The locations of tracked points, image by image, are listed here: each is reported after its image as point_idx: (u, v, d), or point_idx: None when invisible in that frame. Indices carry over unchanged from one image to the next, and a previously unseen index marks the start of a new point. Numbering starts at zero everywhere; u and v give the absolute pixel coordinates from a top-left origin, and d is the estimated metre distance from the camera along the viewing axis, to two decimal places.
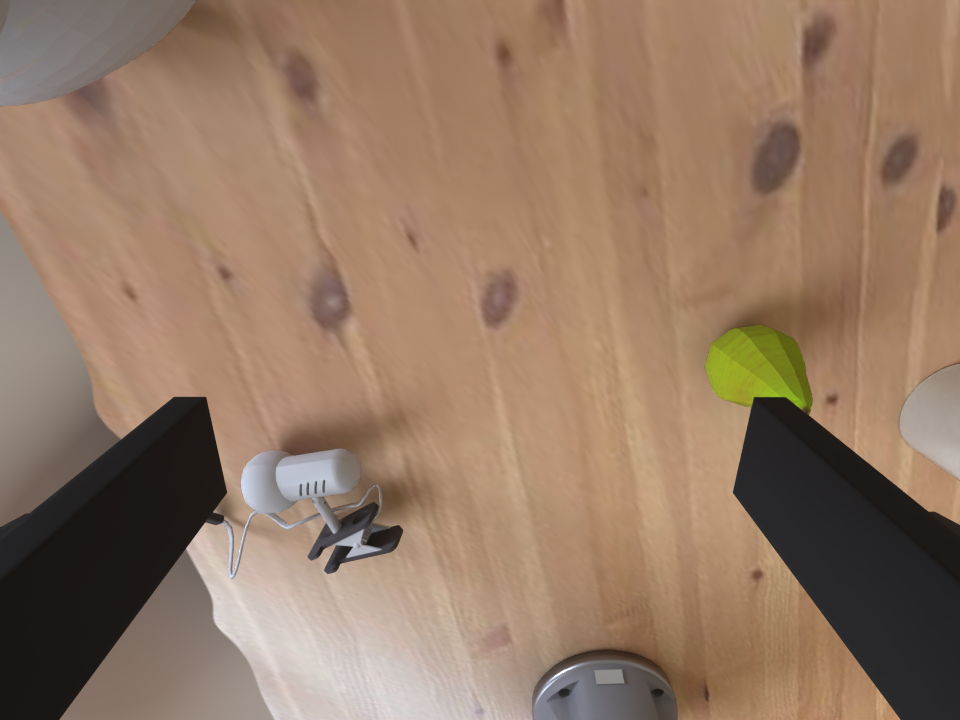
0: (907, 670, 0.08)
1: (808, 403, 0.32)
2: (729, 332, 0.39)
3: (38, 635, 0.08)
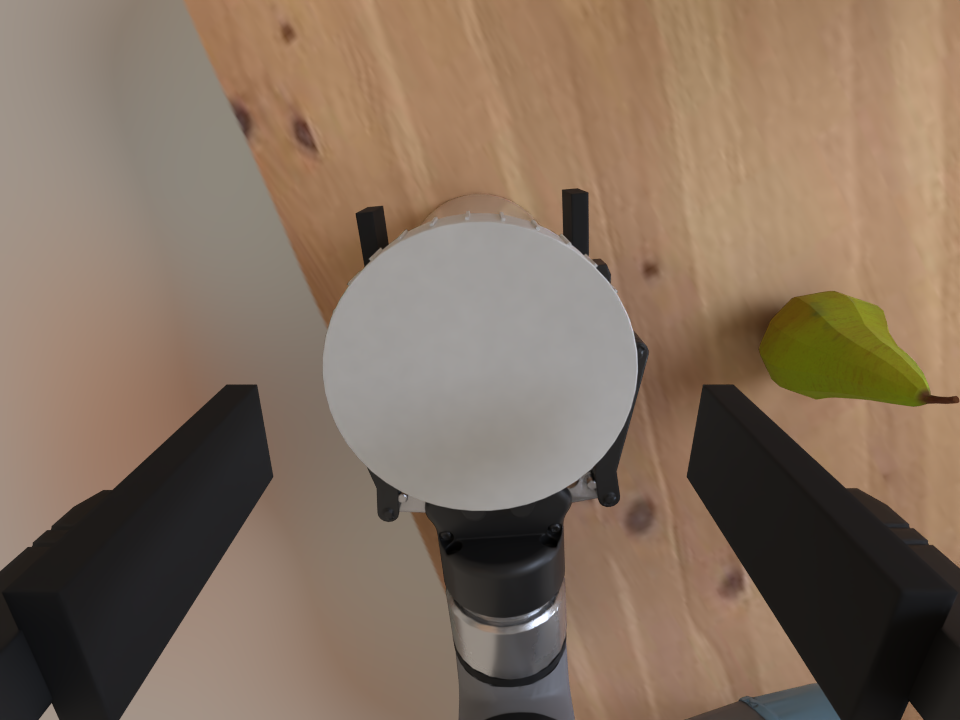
0: (818, 631, 0.08)
1: (906, 401, 0.24)
2: None
3: (131, 597, 0.08)
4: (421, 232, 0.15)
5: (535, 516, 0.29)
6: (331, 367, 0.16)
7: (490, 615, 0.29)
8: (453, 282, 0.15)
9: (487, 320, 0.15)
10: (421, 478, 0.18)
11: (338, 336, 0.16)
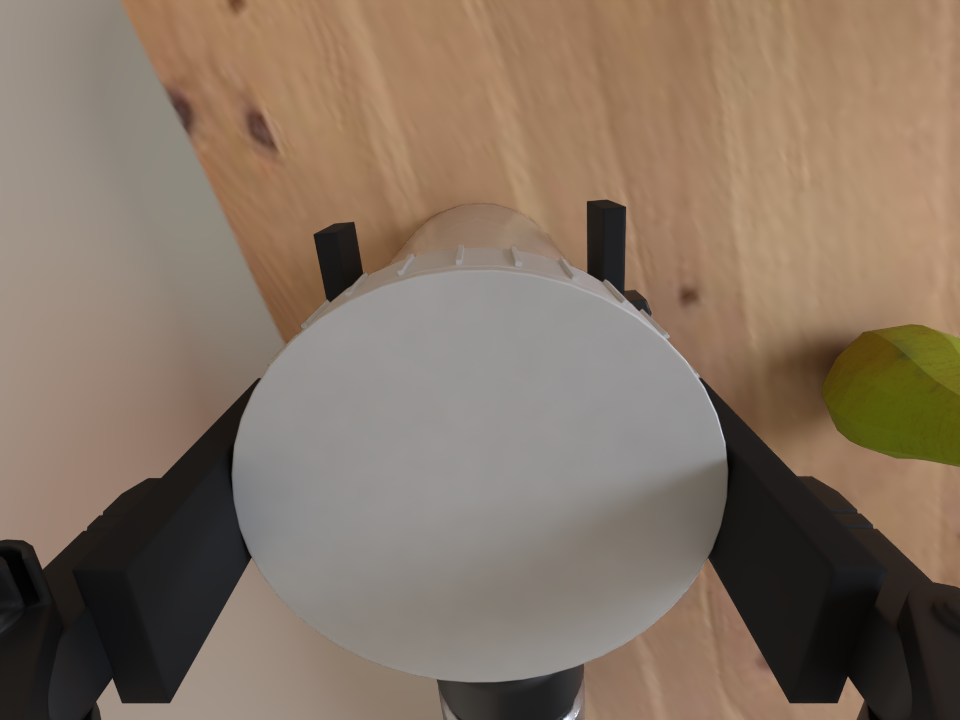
0: (767, 611, 0.09)
1: None
2: None
3: (184, 578, 0.09)
4: (382, 287, 0.09)
5: None
6: (246, 491, 0.10)
7: None
8: (435, 366, 0.09)
9: (492, 423, 0.10)
10: (392, 641, 0.12)
11: (254, 446, 0.10)
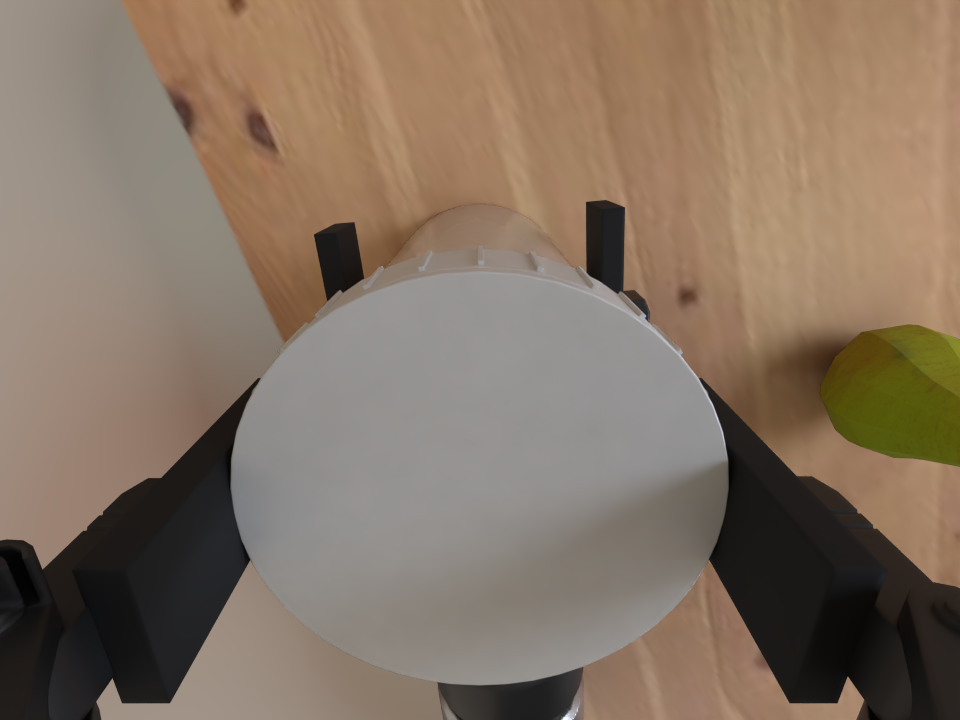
0: (767, 611, 0.09)
1: None
2: None
3: (184, 578, 0.09)
4: (326, 639, 0.12)
5: None
6: (544, 669, 0.12)
7: None
8: (361, 595, 0.11)
9: (384, 541, 0.11)
10: (681, 525, 0.10)
11: (499, 673, 0.12)
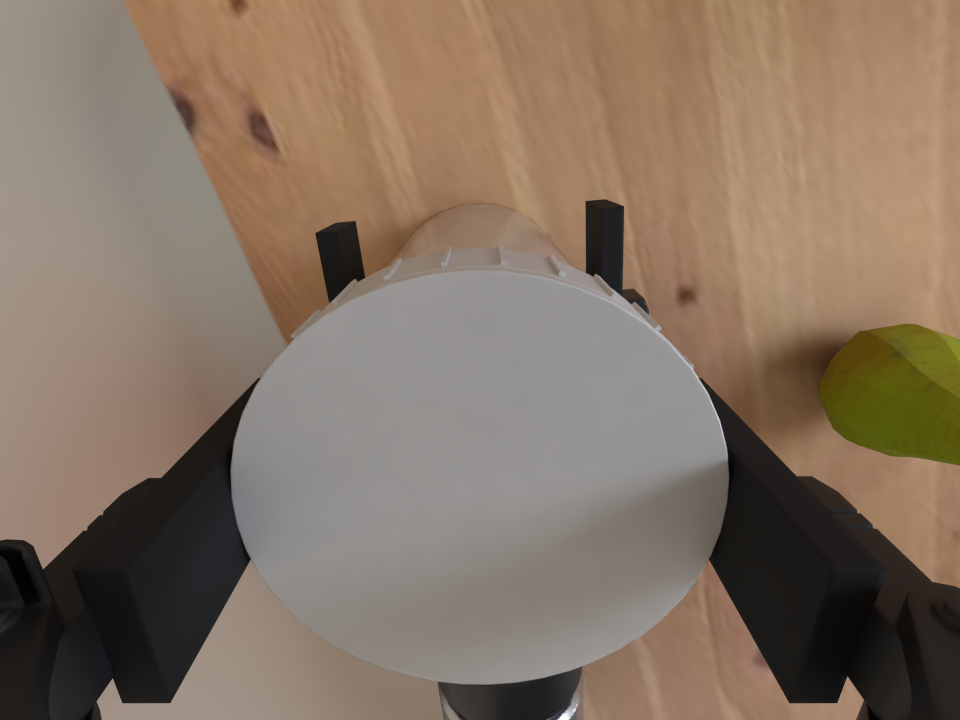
0: (766, 611, 0.09)
1: None
2: None
3: (184, 578, 0.09)
4: (697, 576, 0.11)
5: None
6: (666, 364, 0.09)
7: None
8: (621, 568, 0.11)
9: (548, 572, 0.11)
10: (391, 336, 0.09)
11: (692, 409, 0.09)
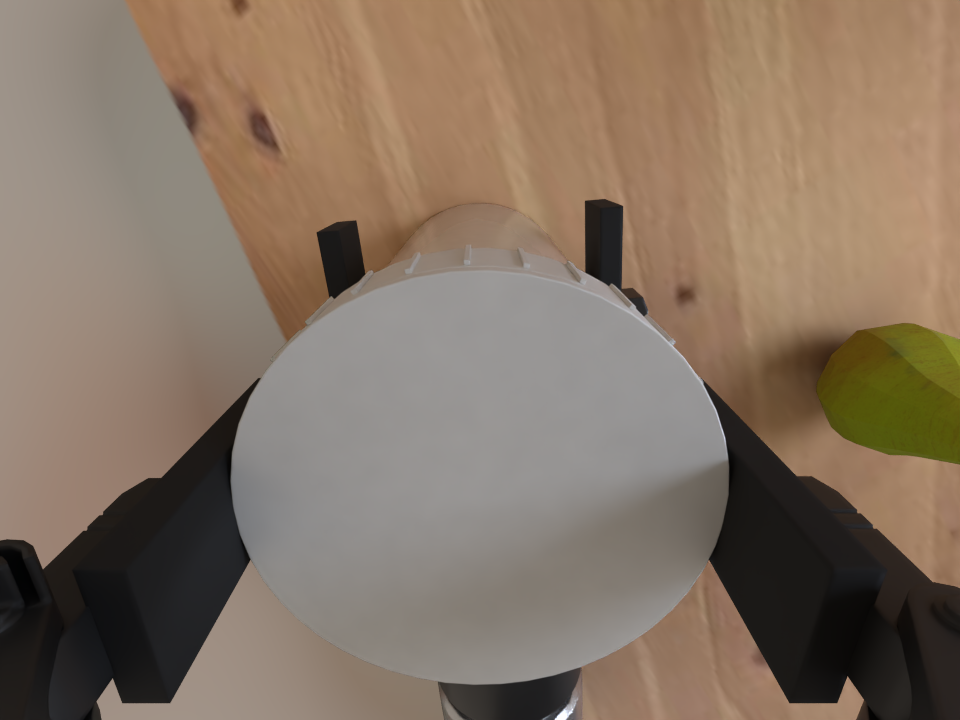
0: (766, 611, 0.09)
1: None
2: None
3: (184, 578, 0.09)
4: (449, 272, 0.09)
5: None
6: (249, 445, 0.10)
7: None
8: (478, 362, 0.09)
9: (518, 429, 0.10)
10: (355, 625, 0.11)
11: (271, 402, 0.09)
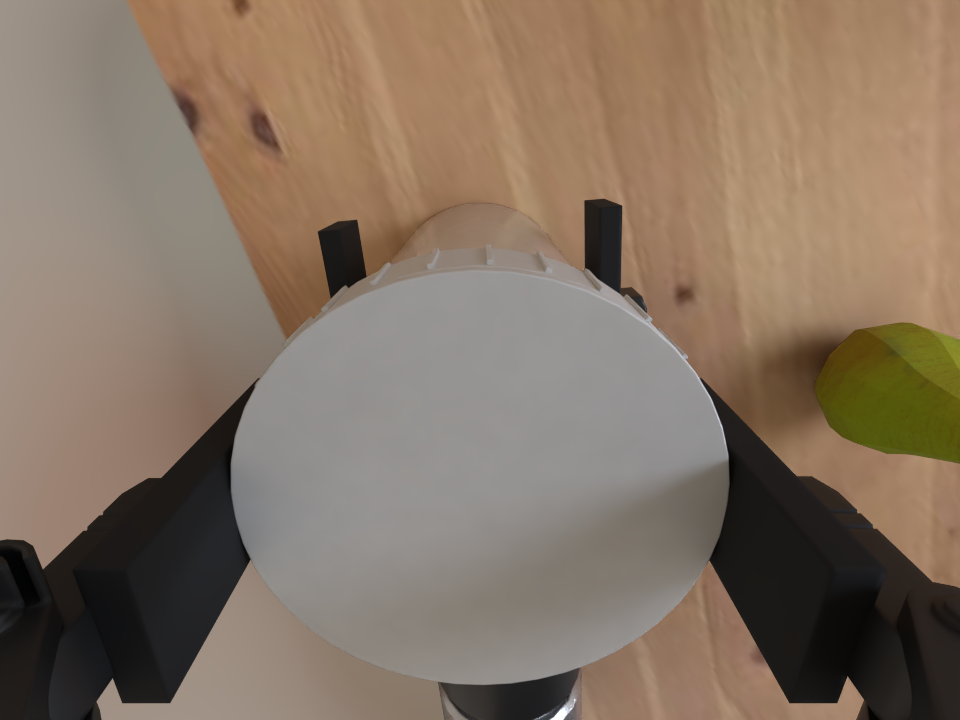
0: (767, 611, 0.09)
1: None
2: None
3: (184, 578, 0.09)
4: (288, 608, 0.11)
5: None
6: (498, 676, 0.12)
7: None
8: (338, 570, 0.11)
9: (377, 522, 0.10)
10: (666, 562, 0.11)
11: (453, 672, 0.12)
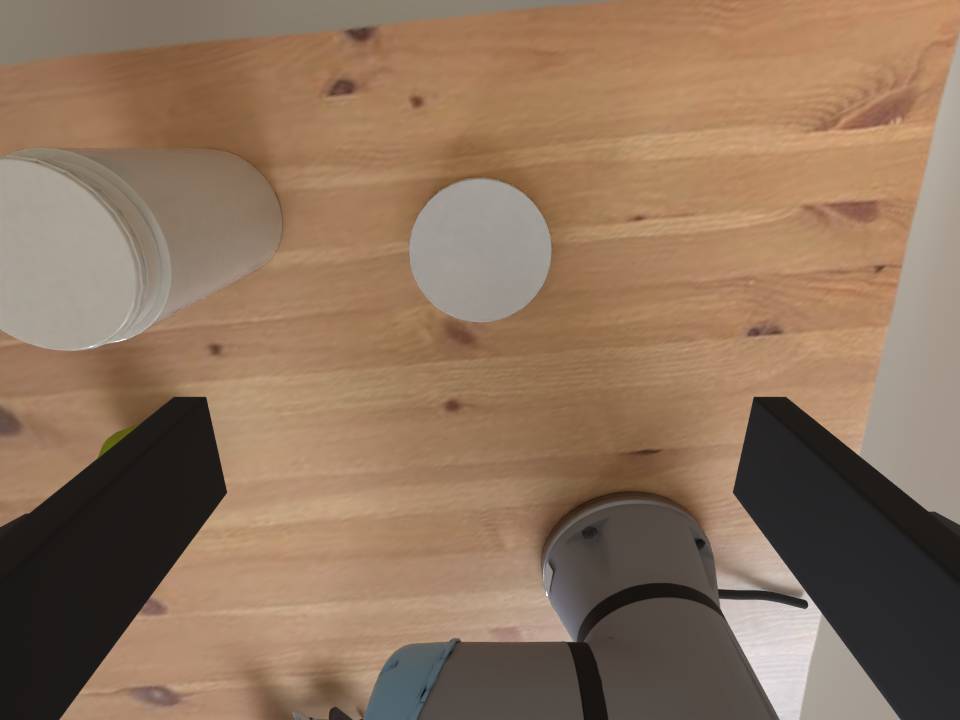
0: (907, 670, 0.08)
1: None
2: None
3: (38, 635, 0.08)
4: (421, 290, 0.37)
5: None
6: (486, 318, 0.37)
7: None
8: (438, 274, 0.36)
9: (450, 257, 0.36)
10: (535, 271, 0.36)
11: (471, 316, 0.37)
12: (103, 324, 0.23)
